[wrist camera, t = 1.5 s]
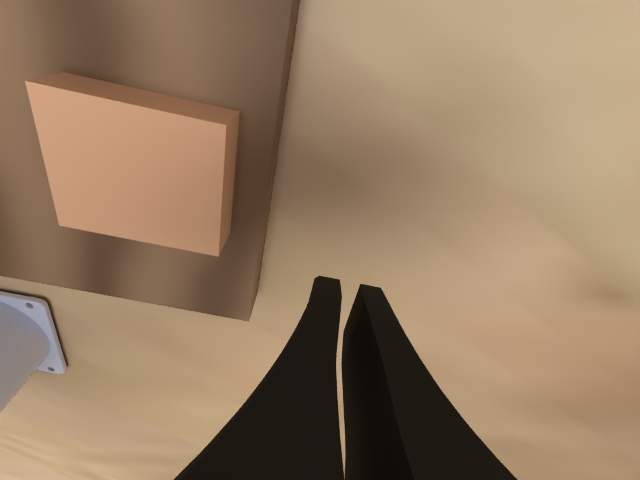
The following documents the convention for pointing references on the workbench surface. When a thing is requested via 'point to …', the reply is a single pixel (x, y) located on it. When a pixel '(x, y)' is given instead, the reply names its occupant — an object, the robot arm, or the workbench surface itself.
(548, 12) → the workbench surface
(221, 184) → the tile
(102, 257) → the deck
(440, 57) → the workbench surface
